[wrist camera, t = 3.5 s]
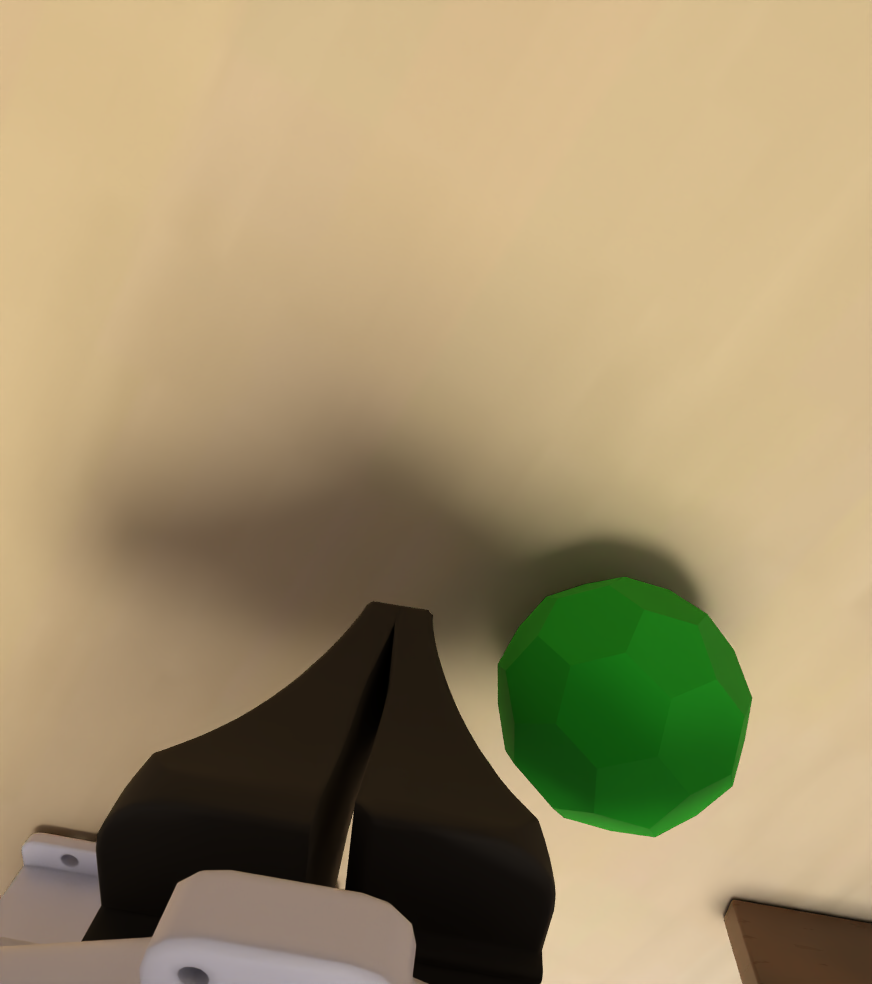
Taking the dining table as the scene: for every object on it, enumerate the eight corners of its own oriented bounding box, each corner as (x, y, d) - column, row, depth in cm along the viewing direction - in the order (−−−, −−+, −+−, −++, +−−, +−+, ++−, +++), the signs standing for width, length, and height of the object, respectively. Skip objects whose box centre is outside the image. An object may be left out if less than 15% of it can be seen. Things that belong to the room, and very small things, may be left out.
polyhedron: (531, 732, 18) (540, 908, 14) (469, 573, 16) (455, 716, 12) (731, 689, 17) (809, 865, 13) (687, 514, 15) (760, 648, 11)
